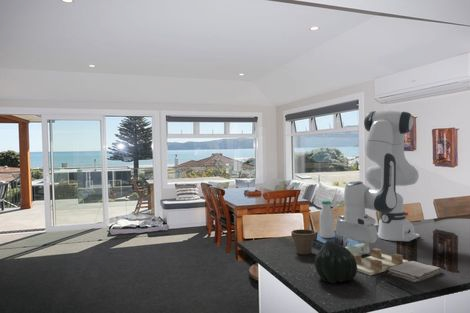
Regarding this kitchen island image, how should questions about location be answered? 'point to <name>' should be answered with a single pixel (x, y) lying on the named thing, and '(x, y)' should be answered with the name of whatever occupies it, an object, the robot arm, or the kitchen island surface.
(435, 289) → the kitchen island surface
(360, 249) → the ceramic bottle
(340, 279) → the squash
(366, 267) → the board
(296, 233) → the flower pot
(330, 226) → the milk bottle
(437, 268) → the washcloth
